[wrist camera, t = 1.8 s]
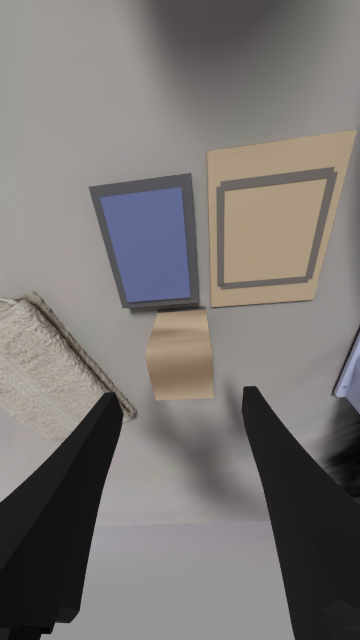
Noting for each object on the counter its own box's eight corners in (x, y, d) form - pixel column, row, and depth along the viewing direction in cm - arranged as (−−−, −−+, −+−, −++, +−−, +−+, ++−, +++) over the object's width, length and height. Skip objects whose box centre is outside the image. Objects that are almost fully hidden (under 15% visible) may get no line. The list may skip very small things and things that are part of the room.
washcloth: (33, 279, 16) (3, 294, 14) (141, 406, 25) (135, 431, 22) (-56, 326, 19) (-94, 346, 17) (67, 426, 27) (54, 450, 25)
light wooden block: (206, 344, 19) (213, 398, 13) (164, 346, 19) (155, 400, 14) (205, 306, 17) (212, 352, 11) (158, 309, 17) (144, 356, 12)
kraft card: (312, 298, 16) (313, 299, 16) (211, 306, 16) (211, 307, 16) (354, 130, 11) (357, 129, 11) (206, 152, 11) (207, 151, 11)
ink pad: (198, 296, 16) (199, 303, 15) (127, 301, 17) (121, 309, 15) (190, 175, 12) (191, 172, 11) (96, 188, 13) (86, 186, 11)
